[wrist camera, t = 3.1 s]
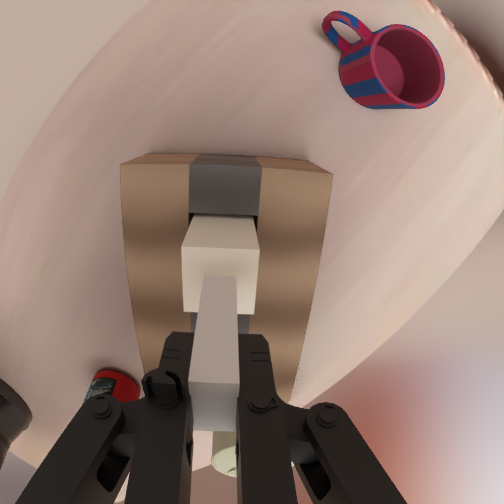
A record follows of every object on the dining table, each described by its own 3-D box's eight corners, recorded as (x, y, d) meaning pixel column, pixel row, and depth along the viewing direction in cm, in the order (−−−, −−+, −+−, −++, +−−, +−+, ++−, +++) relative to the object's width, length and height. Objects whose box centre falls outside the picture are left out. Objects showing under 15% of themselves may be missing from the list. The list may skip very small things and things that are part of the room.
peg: (195, 259, 23) (183, 311, 17) (196, 209, 22) (181, 246, 15) (248, 261, 24) (253, 314, 17) (251, 211, 22) (259, 249, 16)
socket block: (280, 356, 34) (289, 401, 28) (160, 351, 33) (150, 396, 27) (308, 161, 26) (333, 174, 19) (147, 153, 24) (120, 164, 18)
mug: (376, 123, 24) (415, 127, 18) (294, 48, 21) (314, 25, 15) (414, 79, 23) (457, 74, 16) (339, 5, 20) (368, -22, 13)
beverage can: (103, 358, 34) (73, 432, 23) (148, 382, 35) (131, 459, 24) (89, 383, 35) (64, 450, 24) (131, 404, 37) (114, 473, 26)
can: (198, 387, 36) (192, 467, 25) (248, 350, 34) (255, 437, 23) (250, 414, 39) (255, 487, 28) (299, 382, 37) (318, 460, 26)
